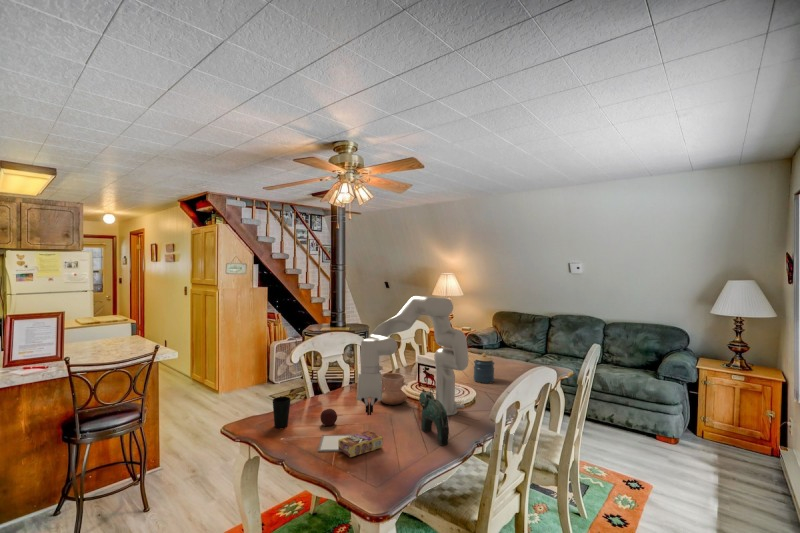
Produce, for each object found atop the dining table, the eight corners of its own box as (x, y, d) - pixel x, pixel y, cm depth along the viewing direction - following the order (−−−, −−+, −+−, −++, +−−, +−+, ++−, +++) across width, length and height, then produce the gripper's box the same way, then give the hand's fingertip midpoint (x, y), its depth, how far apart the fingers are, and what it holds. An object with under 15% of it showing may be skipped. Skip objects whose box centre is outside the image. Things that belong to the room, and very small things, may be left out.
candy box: (383, 436, 156) (350, 447, 146) (383, 447, 156) (350, 458, 146) (370, 429, 163) (338, 439, 153) (370, 439, 163) (338, 450, 153)
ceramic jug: (412, 400, 213) (412, 373, 213) (402, 409, 199) (403, 381, 199) (381, 395, 219) (382, 370, 219) (370, 404, 206) (371, 376, 206)
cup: (293, 424, 177) (294, 398, 177) (282, 431, 170) (282, 403, 170) (280, 421, 180) (280, 395, 180) (268, 427, 174) (268, 400, 174)
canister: (473, 383, 246) (474, 354, 246) (473, 377, 259) (473, 350, 259) (494, 384, 244) (495, 356, 244) (493, 378, 257) (493, 351, 257)
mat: (374, 435, 167) (374, 434, 167) (374, 450, 154) (374, 449, 154) (322, 436, 166) (322, 435, 166) (317, 451, 152) (317, 450, 152)
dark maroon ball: (317, 424, 178) (317, 409, 178) (330, 420, 183) (331, 405, 183) (326, 429, 173) (327, 413, 173) (340, 424, 178) (341, 409, 178)
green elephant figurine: (417, 428, 176) (418, 383, 176) (430, 426, 178) (431, 382, 178) (439, 447, 157) (439, 397, 157) (453, 444, 160) (453, 395, 160)
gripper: (387, 366, 165) (387, 410, 165) (351, 367, 164) (351, 411, 164) (388, 371, 157) (387, 417, 157) (351, 371, 156) (350, 418, 156)
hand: (369, 414), depth 160 cm, fingers closed
